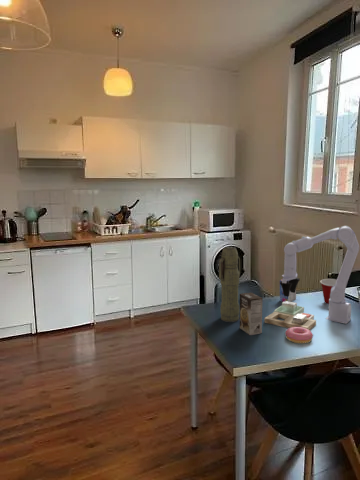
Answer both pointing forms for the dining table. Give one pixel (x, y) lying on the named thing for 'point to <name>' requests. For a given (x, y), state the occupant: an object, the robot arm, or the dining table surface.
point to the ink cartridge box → (284, 298)
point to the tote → (299, 310)
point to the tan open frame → (287, 321)
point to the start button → (307, 314)
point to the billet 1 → (289, 307)
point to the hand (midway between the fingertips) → (289, 294)
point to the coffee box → (251, 313)
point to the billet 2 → (299, 319)
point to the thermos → (229, 284)
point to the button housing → (310, 317)
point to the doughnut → (299, 335)
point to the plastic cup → (327, 288)
